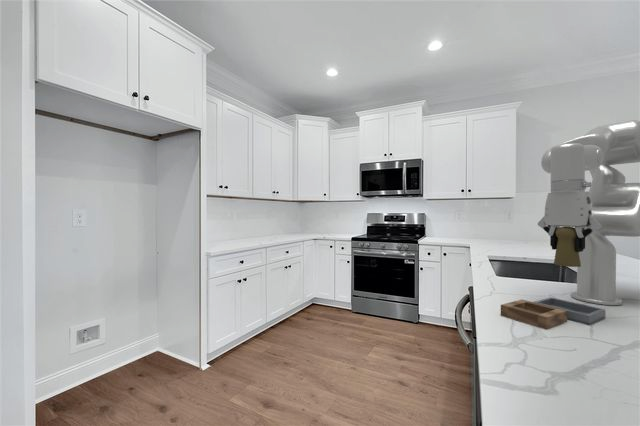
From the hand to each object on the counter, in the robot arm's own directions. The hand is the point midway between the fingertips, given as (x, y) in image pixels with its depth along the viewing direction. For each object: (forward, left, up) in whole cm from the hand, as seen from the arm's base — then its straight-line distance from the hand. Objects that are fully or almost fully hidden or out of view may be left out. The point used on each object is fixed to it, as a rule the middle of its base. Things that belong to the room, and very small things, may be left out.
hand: (567, 249), depth 84 cm
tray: (0, 0, -19) cm, 19 cm away
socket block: (+13, -3, -19) cm, 23 cm away
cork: (0, 0, -5) cm, 5 cm away
